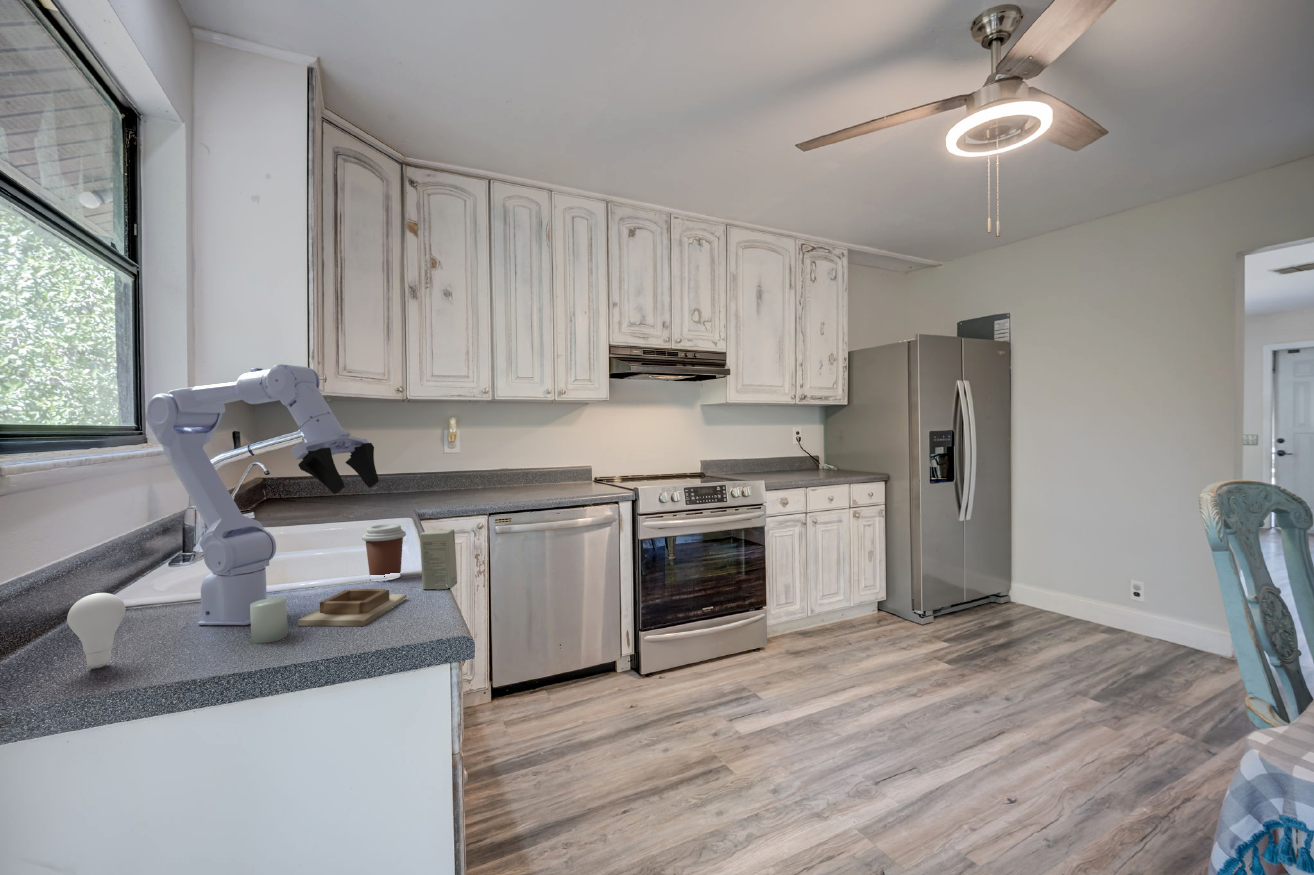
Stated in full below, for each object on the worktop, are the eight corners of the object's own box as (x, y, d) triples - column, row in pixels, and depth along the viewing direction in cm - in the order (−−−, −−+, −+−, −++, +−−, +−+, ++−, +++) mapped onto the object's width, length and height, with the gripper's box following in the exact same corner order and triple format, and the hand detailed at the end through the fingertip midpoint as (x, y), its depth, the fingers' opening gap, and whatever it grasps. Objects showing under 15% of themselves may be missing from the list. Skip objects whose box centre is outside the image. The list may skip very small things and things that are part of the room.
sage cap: (243, 643, 92) (242, 606, 92) (266, 632, 97) (265, 597, 97) (273, 643, 92) (271, 606, 92) (294, 632, 97) (293, 597, 97)
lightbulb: (57, 675, 81) (54, 599, 81) (105, 657, 87) (102, 587, 87) (92, 677, 80) (89, 600, 80) (138, 659, 86) (135, 588, 86)
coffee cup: (405, 581, 128) (404, 528, 127) (360, 585, 125) (358, 531, 124) (408, 571, 136) (406, 521, 136) (366, 575, 133) (364, 524, 133)
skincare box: (457, 583, 125) (456, 528, 124) (451, 589, 120) (449, 532, 120) (428, 584, 125) (426, 529, 124) (420, 590, 120) (419, 533, 120)
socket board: (298, 625, 100) (297, 608, 100) (349, 599, 115) (348, 584, 115) (363, 625, 99) (363, 609, 99) (406, 599, 114) (406, 584, 114)
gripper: (295, 410, 91) (337, 479, 89) (364, 409, 105) (402, 469, 103) (269, 435, 93) (310, 504, 91) (340, 431, 107) (377, 491, 105)
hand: (357, 487), depth 97 cm, fingers open, 7 cm apart
